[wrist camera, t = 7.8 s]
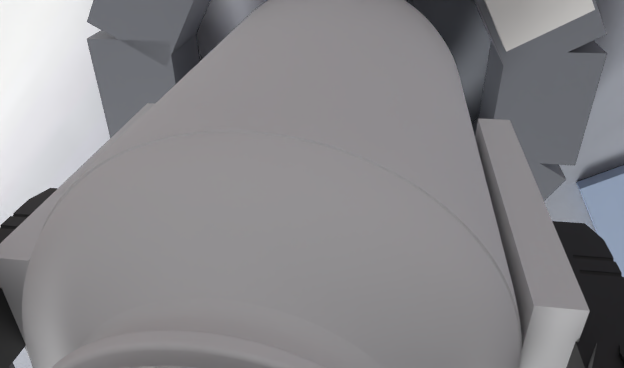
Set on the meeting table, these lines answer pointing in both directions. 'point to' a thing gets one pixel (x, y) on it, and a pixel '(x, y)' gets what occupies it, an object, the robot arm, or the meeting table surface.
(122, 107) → the holder ring
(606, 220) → the rubber mat
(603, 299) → the robot arm
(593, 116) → the meeting table surface
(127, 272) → the pill bottle
